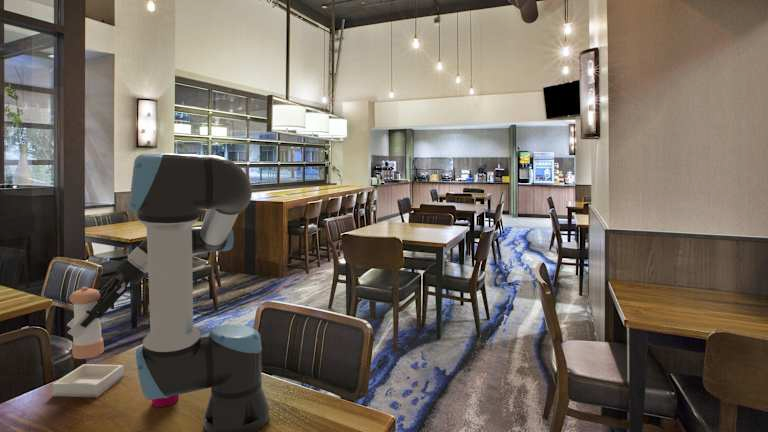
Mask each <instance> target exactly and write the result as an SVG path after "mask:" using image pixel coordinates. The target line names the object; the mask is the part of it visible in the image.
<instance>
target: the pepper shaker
mask: <svg viewBox="0 0 768 432" xmlns="http://www.w3.org/2000/svg"><path fill="white" fill-rule="evenodd" d="M99 298H100V293H99V290H98V289H96V288H95V289H94V288H92V287H91V288H90V287H89V288H88V287H87V286H82V287H81V288H80V289H78V290H76V291H73V292H72V293H71V294H70V295H69V301H70V303H71V304H73V316H74V317H73V318H74V324H73V326H74V325H75V324H76V323H77V322H78V321H79V320H80V319H81V318H82V317H83V316H84V315H85V314H86V311H87V310H88V311H91V310H92V309H93V307H94V306H95V305H96V304H97V300H98V299H99ZM72 338H73V342H72V343H71V348H72V358H74V359H76V360H86V359H91V358H94V357H97V356H99V355H101V354H102V353H104V351H105V347H104V338H103V337H102V325H101V322H100V319H98V318H97V319H95V320H94V321H93V322H92V323H91V324H90V326H89V327H88V328H87V329H86V330H85V331H84V332H83V333H82V334H81V335H80V336H79V337H78V338H75V337H73V336H72Z"/></svg>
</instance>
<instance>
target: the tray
mask: <svg viewBox="0 0 768 432" xmlns="http://www.w3.org/2000/svg"><path fill="white" fill-rule="evenodd" d="M124 366H125V365H124V364H96V363H95V364H93V363H92V364H91V363H90V364H89V363H87V364H86V363H84V364H81V365H80V366H78V367H77V368H75V369H74V370H72V371H71V372H69V373H67V374H66V375H64V376H63V377H60V378H59V379H58V380H56V381H55V382H53V383H52V384H51V385H52V397H71V398H72V397H73V398H98V397H99V396H101V395H102V394H103V393H105V392H106V391H107V390H108V389H110V388H111V387H113V386H114V385H115V384H116V383H117V382H119V381H120V380H121V379H123V378H124V377H125V369H124V368H125V367H124Z"/></svg>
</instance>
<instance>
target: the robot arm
mask: <svg viewBox="0 0 768 432" xmlns="http://www.w3.org/2000/svg"><path fill="white" fill-rule="evenodd" d="M130 187H131V188H130V196H129V206H128V209H129V211H131V212H134V213H137V220H138V222H139V223H140V224H142V225H143V226H144V227H145V229H146V238H145V239H143V240H142V242H140V244H138V246H136V247H135V248H134V249H133V250H132V251H131V252H130V253H129V254H128V255H127V258H125V259H123V260H122V261H121V262H119V264H118V265H117V266H116V268H115V269H116V270H117V272H119V274H117V275H112V277H111V278H110V279H109V280H108V281H107V282H106V283H105V284H104V285H103V286H102V287H100V289H99V290H98V291H99V293H100V298H99V299H98V300H97V304H96V305H95V306H94V307H93V309H92V310H91V311H88V310H87V311H86V314H85V315H84V316H83V317H82V318H81V319H80V320H79V321H78V322H77V323H76V324H75V325H74V326H73V324H74V317H73V318H72V319H71V320H69V322H68V323H67V324H66V326H67V327H68V328H69V330H68V331H67V334H68V335H71V336H72V338H73V337H75V338H78V337H79V336H80V335H81V334H82V333H83V332H84V331H85V330H86V329H87V328H88V327H89V326H90V324H91V323H92V322H93V321H94V320H95V319H97V318H98V319H99V320H100V319H101V318H102V317H103V316H104V314H105V313H107V312H108V310H110V309H111V307H112V306H113V305H114V304H115V303H116V302H117V301H118V300H119V299H120V298H121V297H122V296H123V295H124V294H125V293H127V291H128V289H127V288H128V287H129V284H130V283H131V282H132V283H134V284H137V285H138V284H140V283H141V282H142V281H143V279H144V278H146V276H147V275H148V296H149V298H148V300H149V304H148V305H149V325H150V326H149V328H150V332H149V333H148V334H147V335H145V336H144V337H143V340H142V345H141V346H140V347H137V348H136V349H135V359H136V365H137V374H138V378H139V383H140V384H139V385H140V388H141V392H142V395H143V396H144V398H145V399H147V400H151V401H152V400H153V399H159V398H169V397H170V396H174V395H178V396H179V395H184V394H186V393H187V394H188V393H192V392H196V391H200V390H206V389H210V388H211V392H210V393H211V394H210V397H209V401H208V404H207V407H206V411H205V413H204V416H203V417H204V418H203V420H204V421H203V423H204V427H203V428H204V430H205V432H257V431H259V430H260V429H262V428H263V427H264V426H266V424H267V422H268V421H269V419H270V405H269V403H268V400H267V398H266V395H265V391H264V390H263V387H262V351H263V348H262V340H261V334H260V332H259V331H258V330H257V329H255V328H253V327H252V326H248V325H244V324H234V323H233V324H230V323H228V324H221V325H217V326H214V327H212V328H211V330H210V331H209V333H208V335H207V336H202V335H201V332H200V330H199V329H197V328H196V327H195V326H194V301H193V299H194V295H193V293H194V292H193V291H194V287H193V282H194V281H193V254H198V253H199V254H201V253H215V252H219V253H221V252H224V251H225V252H226V251H230V250H231V249H233V245H234V231H233V229H232V228H233V227H234V225H235V223H236V220H237V218H238V216H239V214H241V213H242V212H244V211H245V210H246V209H247V208H248V205H249V204H250V202H251V200H252V199H251V198H252V195H253V190H252V184H251V181H250V178H249V177H248V175H247V174H246V172H245V171H244V170H243V168H241V167H240V166H239V165H238V164H236V163H235V162H234V161H232V160H231V159H228V158H226V157H223V156H220V155H215V154H213V155H212V154H208V155H204V154H203V155H201V154H183V153H182V154H181V153H163V152H160V153H159V152H158V153H157V152H156V153H142V154H139V155H138V156H136V158H135V159H134V162H133V168H132V176H131V186H130ZM200 210H206V211H205V214H204V217H203V221H202V223H201V226H193V225H194V224H195V223H197V221H198V220H200ZM147 273H148V274H147Z"/></svg>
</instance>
